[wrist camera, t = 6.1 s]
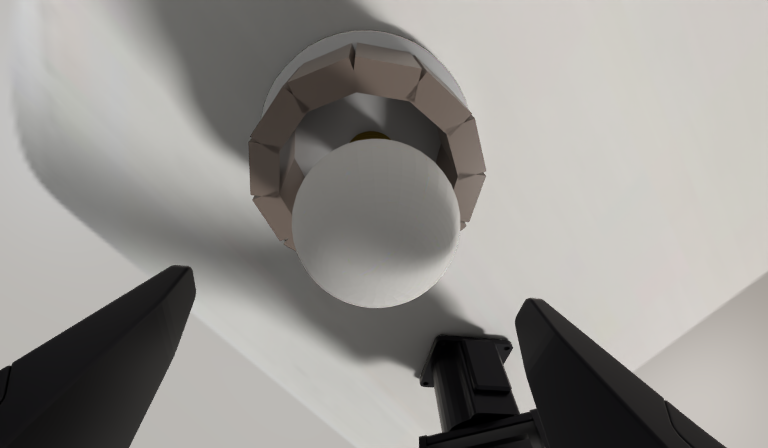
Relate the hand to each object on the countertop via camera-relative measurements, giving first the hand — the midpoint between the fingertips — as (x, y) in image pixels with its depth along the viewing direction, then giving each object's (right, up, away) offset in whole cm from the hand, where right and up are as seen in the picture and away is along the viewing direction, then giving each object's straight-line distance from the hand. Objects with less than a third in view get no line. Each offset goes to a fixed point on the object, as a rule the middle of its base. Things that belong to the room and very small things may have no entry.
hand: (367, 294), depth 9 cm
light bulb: (0, +6, +9) cm, 11 cm away
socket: (-1, +6, +10) cm, 12 cm away
